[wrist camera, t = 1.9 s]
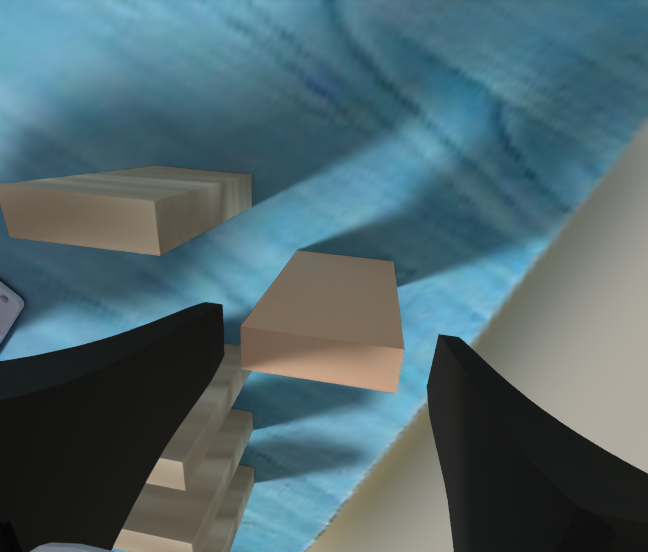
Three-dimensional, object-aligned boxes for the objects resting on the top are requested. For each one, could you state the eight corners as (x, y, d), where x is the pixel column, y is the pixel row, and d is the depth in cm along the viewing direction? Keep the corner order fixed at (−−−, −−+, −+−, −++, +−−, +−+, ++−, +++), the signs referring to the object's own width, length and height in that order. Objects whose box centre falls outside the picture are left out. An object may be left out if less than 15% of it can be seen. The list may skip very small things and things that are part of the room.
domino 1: (156, 165, 17) (-6, 184, 10) (251, 174, 17) (154, 200, 10) (160, 197, 18) (9, 237, 11) (252, 207, 18) (160, 255, 10)
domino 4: (187, 454, 25) (107, 586, 18) (254, 467, 24) (200, 608, 17) (189, 470, 26) (112, 604, 18) (254, 483, 25) (202, 626, 18)
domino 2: (173, 335, 21) (64, 440, 14) (252, 347, 21) (182, 462, 13) (176, 357, 22) (73, 468, 14) (252, 369, 21) (185, 490, 14)
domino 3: (180, 399, 23) (88, 521, 16) (252, 411, 23) (191, 543, 15) (182, 418, 24) (94, 543, 16) (252, 430, 23) (194, 566, 16)
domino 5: (296, 250, 18) (240, 326, 11) (393, 261, 17) (404, 349, 10) (295, 278, 19) (241, 369, 11) (389, 289, 18) (396, 393, 11)
